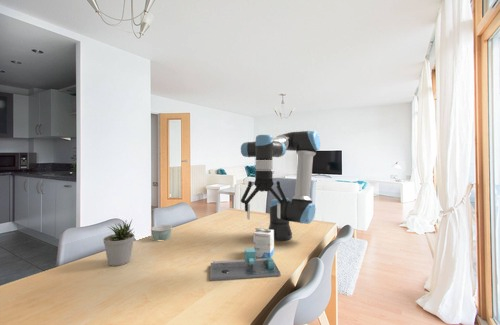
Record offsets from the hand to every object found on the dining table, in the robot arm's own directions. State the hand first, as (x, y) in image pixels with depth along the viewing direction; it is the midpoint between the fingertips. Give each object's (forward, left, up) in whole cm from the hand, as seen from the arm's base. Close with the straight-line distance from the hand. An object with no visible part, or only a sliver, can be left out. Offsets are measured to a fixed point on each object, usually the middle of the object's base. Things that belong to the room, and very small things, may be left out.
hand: (263, 218), depth 110 cm
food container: (+52, -46, -21) cm, 73 cm away
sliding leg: (+6, +3, -19) cm, 21 cm away
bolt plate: (+9, +3, -21) cm, 23 cm away
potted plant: (+64, -13, -21) cm, 69 cm away
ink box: (-3, -13, -21) cm, 25 cm away
